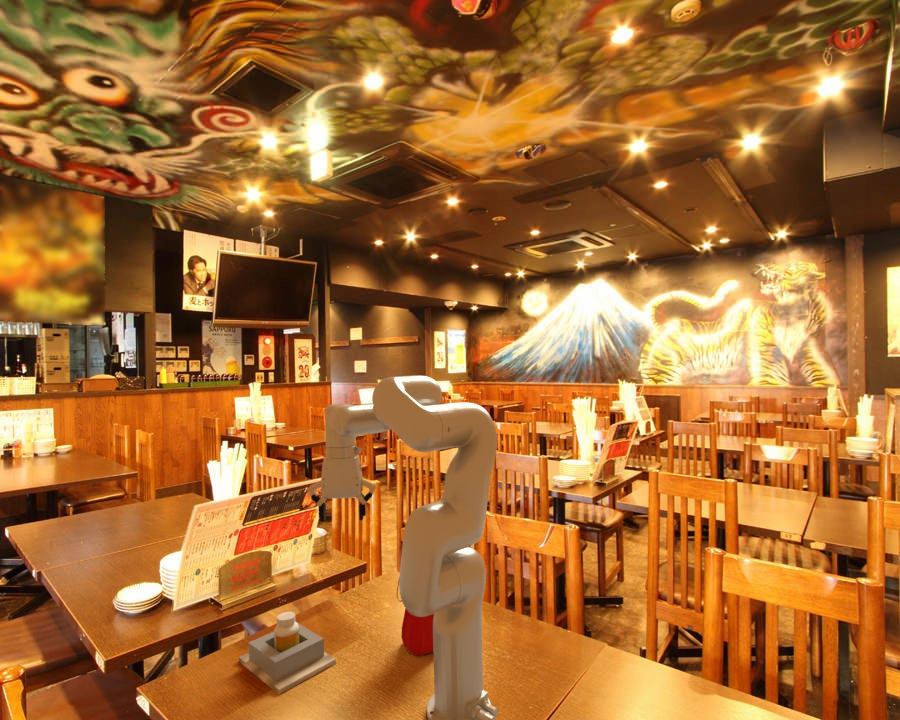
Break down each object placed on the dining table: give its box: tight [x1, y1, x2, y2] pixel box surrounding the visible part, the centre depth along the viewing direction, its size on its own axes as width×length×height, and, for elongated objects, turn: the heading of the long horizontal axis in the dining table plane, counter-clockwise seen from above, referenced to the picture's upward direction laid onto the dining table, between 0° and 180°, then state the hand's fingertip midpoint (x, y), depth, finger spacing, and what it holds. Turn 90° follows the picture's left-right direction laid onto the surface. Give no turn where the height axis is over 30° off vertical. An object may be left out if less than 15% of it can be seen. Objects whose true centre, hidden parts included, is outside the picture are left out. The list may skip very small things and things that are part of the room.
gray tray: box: [238, 651, 337, 695], centre depth 116 cm, size 18×14×1 cm
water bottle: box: [396, 575, 434, 657], centre depth 121 cm, size 9×11×25 cm
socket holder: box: [248, 622, 325, 681], centre depth 116 cm, size 12×12×4 cm
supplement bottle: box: [273, 611, 299, 653], centre depth 116 cm, size 5×5×10 cm
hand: (342, 519), depth 129 cm, fingers open, 9 cm apart
